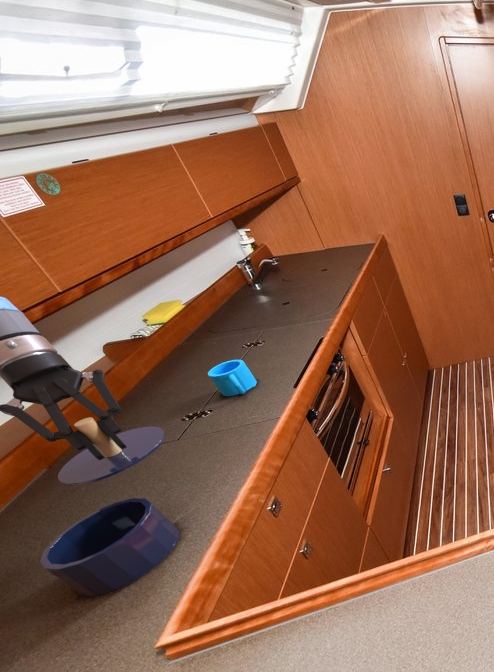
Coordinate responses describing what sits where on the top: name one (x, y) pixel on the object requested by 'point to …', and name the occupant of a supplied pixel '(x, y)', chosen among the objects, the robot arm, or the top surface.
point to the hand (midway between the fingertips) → (111, 452)
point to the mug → (232, 377)
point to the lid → (109, 452)
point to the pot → (111, 547)
